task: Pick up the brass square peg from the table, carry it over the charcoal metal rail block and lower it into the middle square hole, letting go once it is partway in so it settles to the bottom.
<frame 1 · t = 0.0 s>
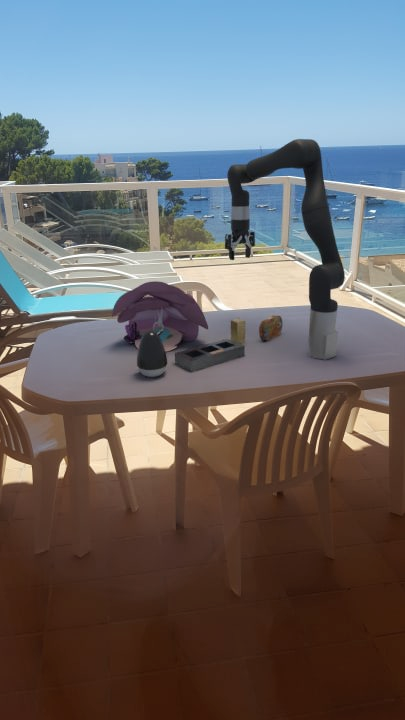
hand: (239, 258, 203), 29 cm above the table, tool pointing down, fingers open, 8 cm apart
hole rail: (210, 359, 178), on the table
aroma diffuser: (153, 374, 167), on the table
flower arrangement: (159, 344, 195), on the table
tin: (270, 337, 200), on the table
square peg: (237, 342, 195), on the table
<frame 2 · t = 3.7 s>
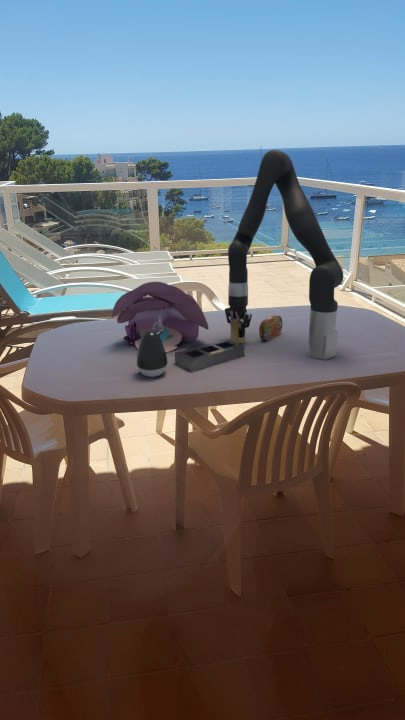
hand: (237, 335, 194), 3 cm above the table, tool pointing down, fingers closed on square peg, 4 cm apart
square peg: (237, 342, 195), on the table, touching gripper
everything else where it was.
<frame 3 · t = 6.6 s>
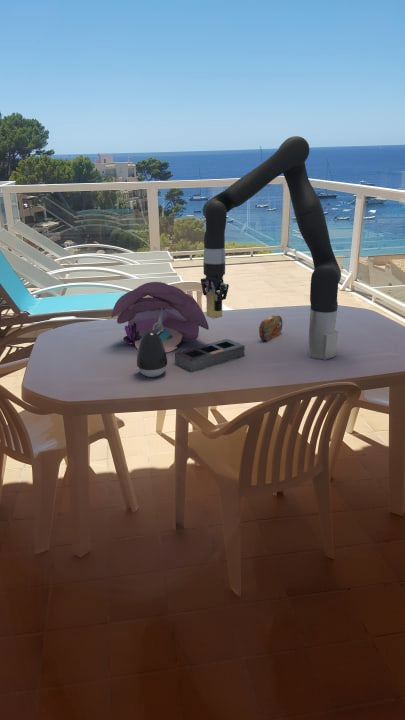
hand: (214, 309, 176), 18 cm above the table, tool pointing down, fingers closed on square peg, 4 cm apart
square peg: (214, 316, 177), point 15 cm above the table, touching gripper
everything else where it was.
when the fingers open (5 cm above the table, at t = 9.5 s): square peg drops 1 cm, resting on hole rail.
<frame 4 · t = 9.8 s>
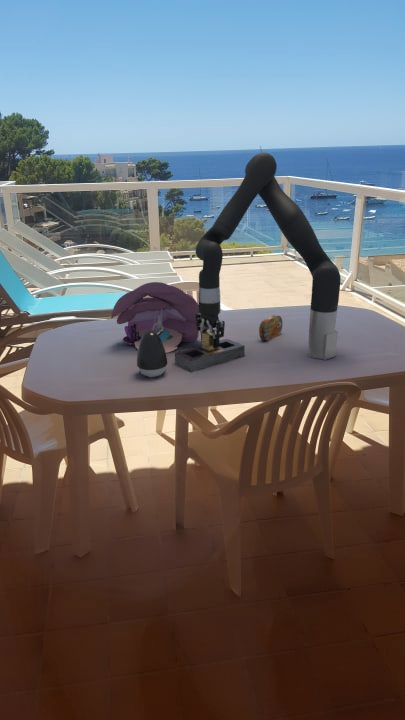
hand: (210, 345, 176), 6 cm above the table, tool pointing down, fingers open, 6 cm apart
square peg: (210, 356, 178), point 1 cm above the table, touching hole rail
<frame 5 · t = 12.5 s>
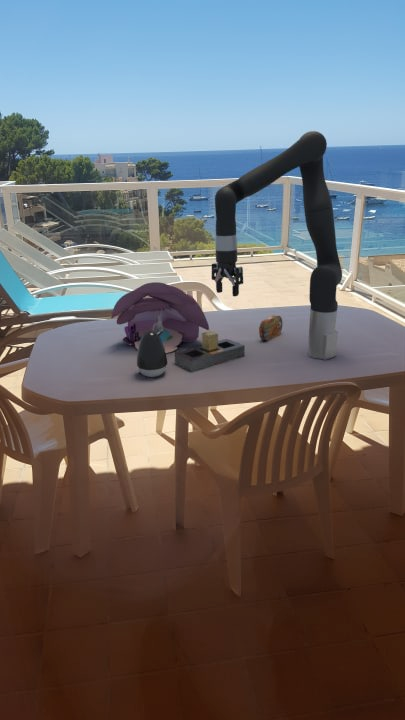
hand: (227, 294, 177), 22 cm above the table, tool pointing down, fingers open, 8 cm apart
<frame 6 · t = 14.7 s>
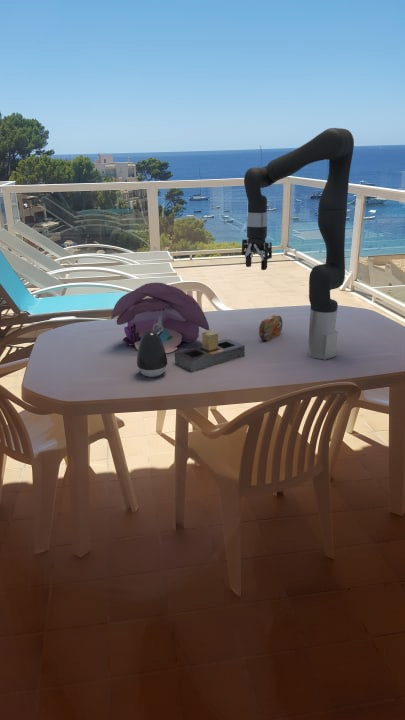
hand: (256, 268, 190), 28 cm above the table, tool pointing down, fingers open, 8 cm apart
at the end: square peg 0.1 cm off-centre on the hole rail, point 1.0 cm above the hole rail's base; square peg tilted 0°; the gripper is holding nothing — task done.
